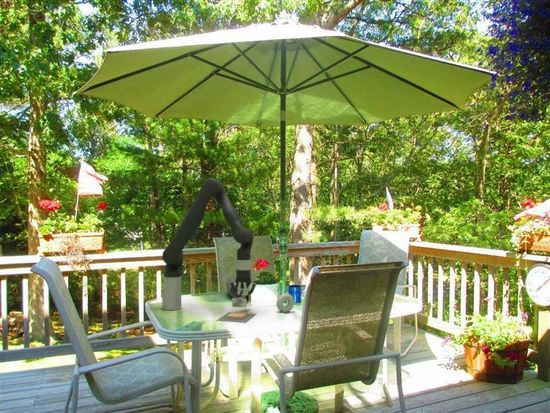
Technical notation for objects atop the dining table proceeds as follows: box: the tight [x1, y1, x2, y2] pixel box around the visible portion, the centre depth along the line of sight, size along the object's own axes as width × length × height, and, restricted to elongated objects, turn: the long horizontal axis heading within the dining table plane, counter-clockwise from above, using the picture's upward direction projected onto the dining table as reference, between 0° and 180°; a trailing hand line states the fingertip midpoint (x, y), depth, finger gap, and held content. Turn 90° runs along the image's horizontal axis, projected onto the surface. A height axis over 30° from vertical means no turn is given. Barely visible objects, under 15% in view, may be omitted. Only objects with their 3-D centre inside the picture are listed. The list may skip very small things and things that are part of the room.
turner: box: [231, 293, 252, 309], centre depth 240 cm, size 7×16×4 cm, turn 166°
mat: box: [215, 311, 257, 324], centre depth 229 cm, size 15×18×1 cm
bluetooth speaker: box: [225, 277, 244, 299], centre depth 285 cm, size 23×9×10 cm, turn 10°
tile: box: [227, 311, 249, 320], centre depth 230 cm, size 8×1×9 cm
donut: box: [276, 292, 295, 314], centre depth 243 cm, size 10×3×10 cm, turn 119°
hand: (243, 302), depth 239 cm, fingers closed on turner, 3 cm apart
